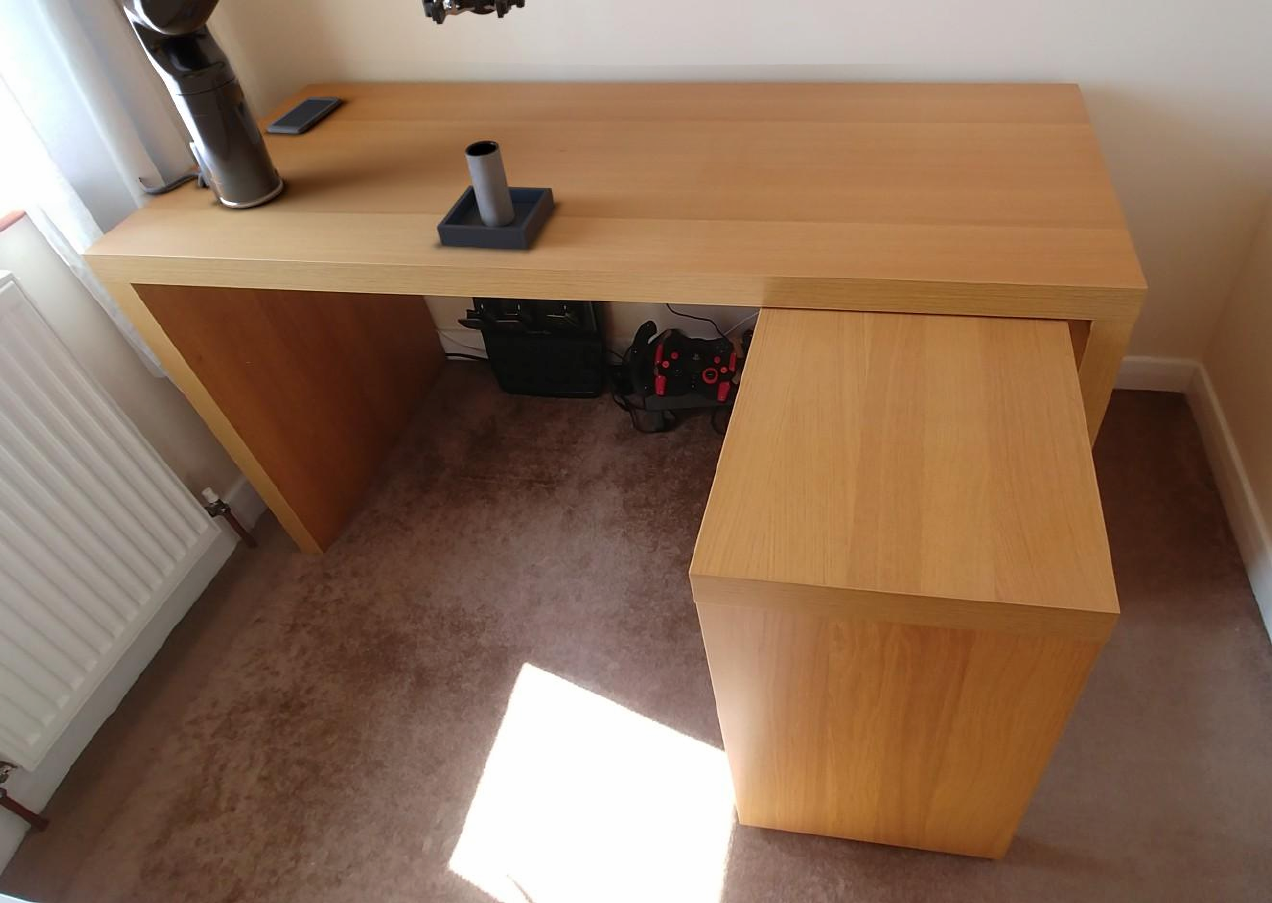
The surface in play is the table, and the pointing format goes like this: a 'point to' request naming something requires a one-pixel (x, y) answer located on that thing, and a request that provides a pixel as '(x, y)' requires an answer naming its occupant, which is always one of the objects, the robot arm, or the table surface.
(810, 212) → the table surface
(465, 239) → the tray
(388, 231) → the table surface
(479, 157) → the grey hollow cylinder
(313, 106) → the cell phone
